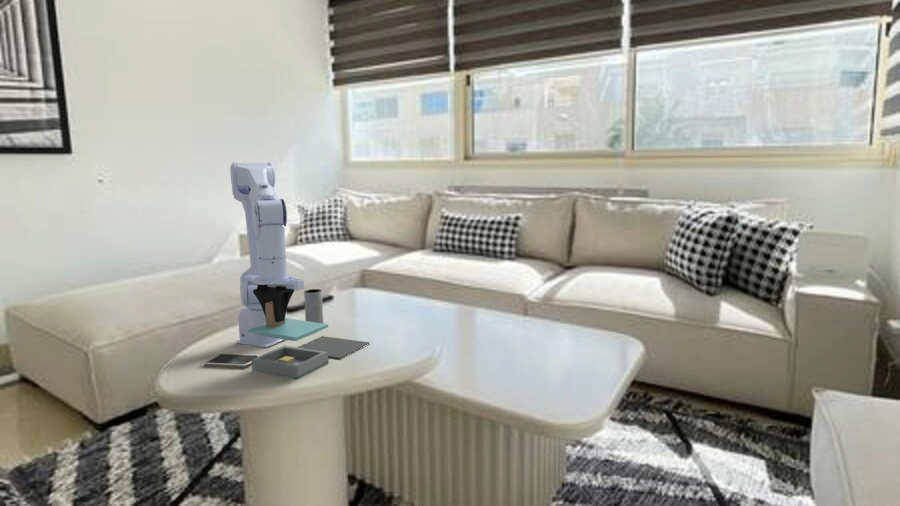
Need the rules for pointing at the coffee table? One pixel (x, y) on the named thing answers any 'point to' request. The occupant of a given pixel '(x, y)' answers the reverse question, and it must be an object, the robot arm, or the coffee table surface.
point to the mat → (334, 346)
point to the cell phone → (229, 361)
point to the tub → (290, 361)
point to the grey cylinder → (313, 305)
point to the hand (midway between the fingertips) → (275, 320)
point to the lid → (285, 327)
